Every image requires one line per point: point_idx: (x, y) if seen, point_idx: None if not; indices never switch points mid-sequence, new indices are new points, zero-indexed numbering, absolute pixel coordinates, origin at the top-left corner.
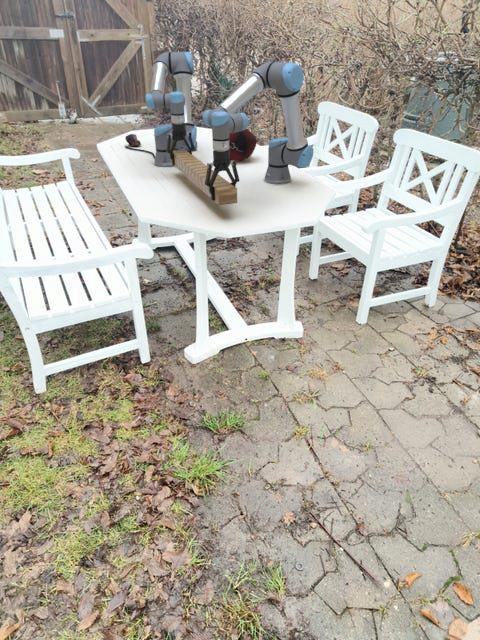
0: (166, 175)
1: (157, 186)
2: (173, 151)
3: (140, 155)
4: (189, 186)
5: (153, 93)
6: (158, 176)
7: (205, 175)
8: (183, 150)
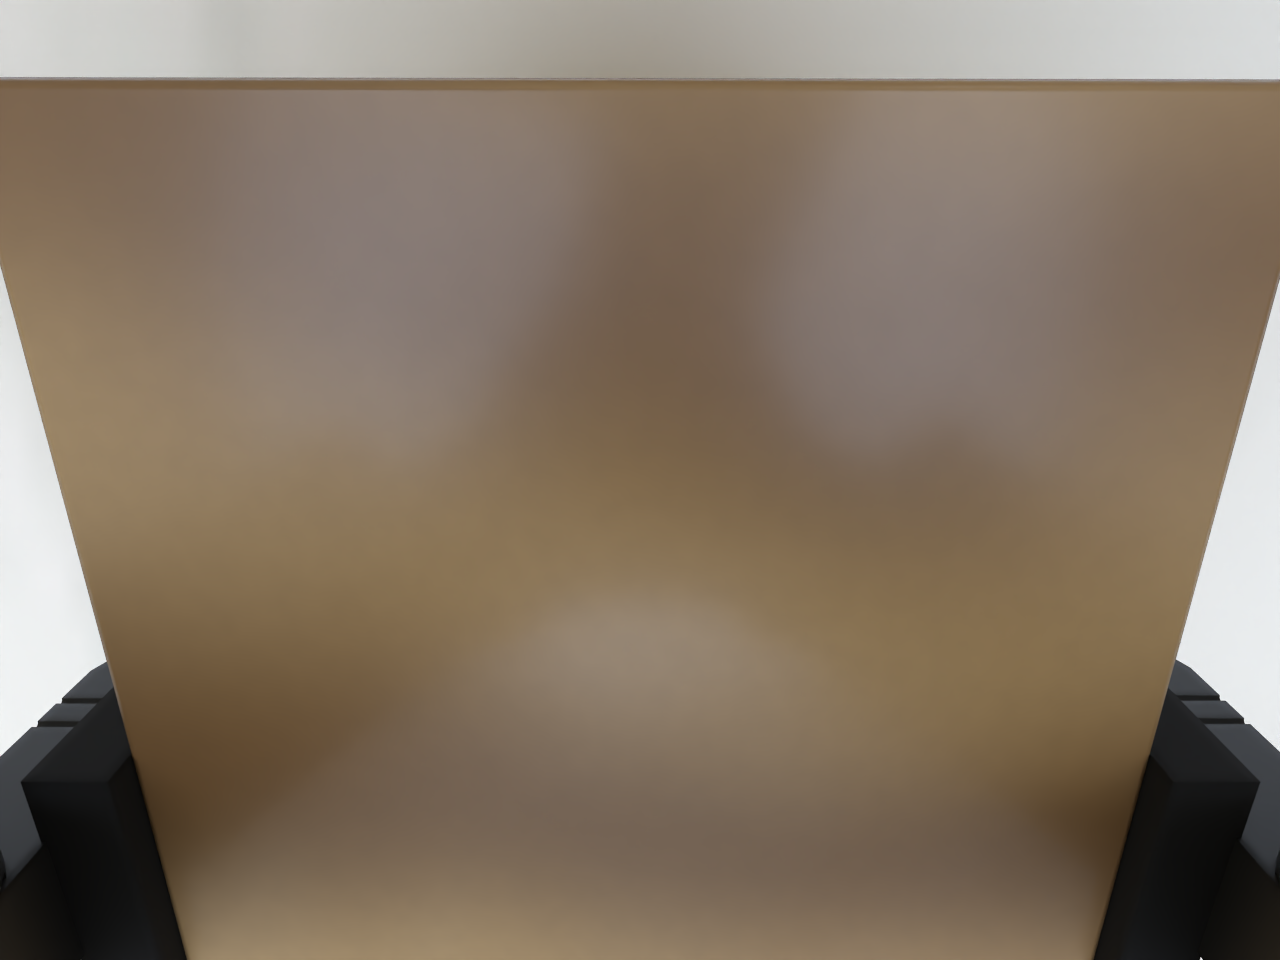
0: (292, 33)
1: (33, 718)
2: (238, 386)
3: None
4: None
5: None
6: (64, 28)
7: None
8: (1036, 430)
